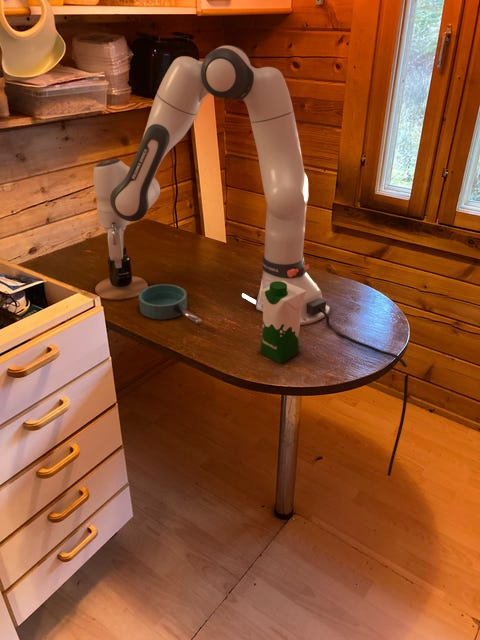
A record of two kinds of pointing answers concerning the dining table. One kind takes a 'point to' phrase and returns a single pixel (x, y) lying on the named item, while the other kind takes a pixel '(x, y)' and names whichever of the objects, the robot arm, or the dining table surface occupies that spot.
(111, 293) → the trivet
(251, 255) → the dining table surface
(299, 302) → the milk carton
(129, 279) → the supplement bottle
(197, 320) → the pan handle
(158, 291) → the pan
